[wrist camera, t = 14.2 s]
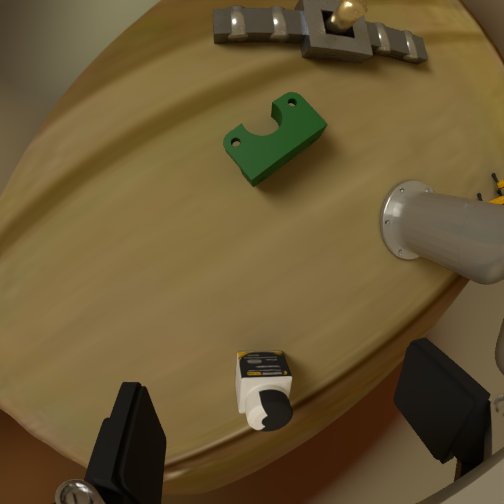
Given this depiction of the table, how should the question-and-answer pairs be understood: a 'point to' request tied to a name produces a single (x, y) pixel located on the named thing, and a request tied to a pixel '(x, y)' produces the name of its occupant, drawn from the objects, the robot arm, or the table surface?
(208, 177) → the table surface
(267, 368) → the medicine bottle
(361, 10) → the pin
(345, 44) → the grey metal bar
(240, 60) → the table surface
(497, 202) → the robot dog
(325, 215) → the table surface
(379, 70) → the table surface
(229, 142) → the clamp
